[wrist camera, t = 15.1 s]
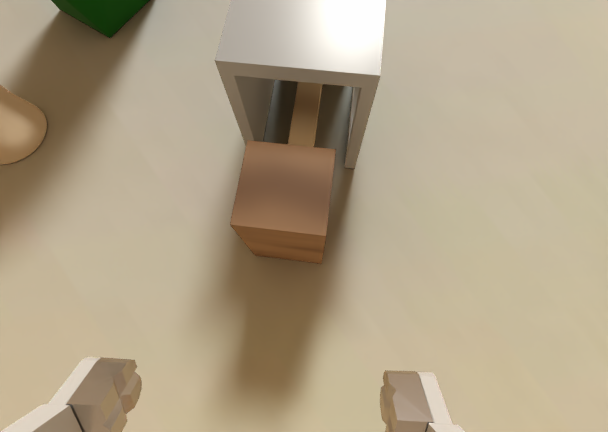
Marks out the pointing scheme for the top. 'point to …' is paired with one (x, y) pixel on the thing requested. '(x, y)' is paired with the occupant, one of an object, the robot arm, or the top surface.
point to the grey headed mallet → (301, 56)
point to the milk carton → (101, 12)
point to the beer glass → (19, 127)
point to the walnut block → (284, 200)
